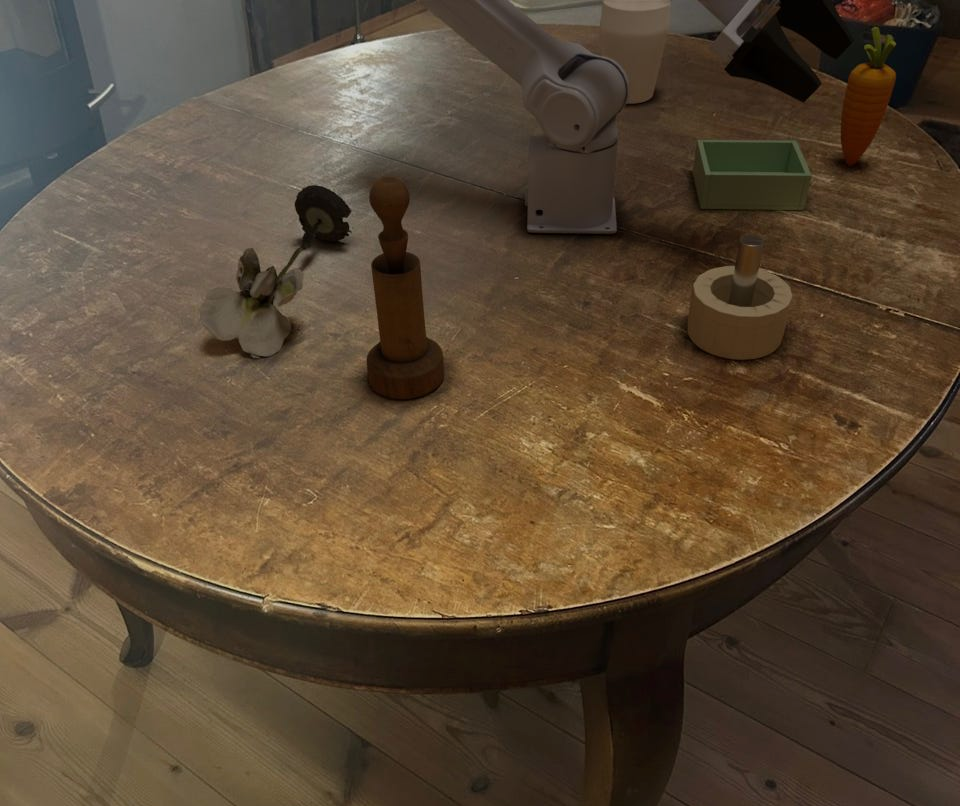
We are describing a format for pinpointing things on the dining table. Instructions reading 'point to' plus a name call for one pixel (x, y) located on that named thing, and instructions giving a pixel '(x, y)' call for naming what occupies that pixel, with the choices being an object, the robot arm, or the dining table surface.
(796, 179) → the bin
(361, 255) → the dining table surface
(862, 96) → the carrot
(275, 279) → the artificial flower
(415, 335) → the mortar and pestle
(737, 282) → the metallic cylinder
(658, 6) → the cup
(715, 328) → the beige round bowl
